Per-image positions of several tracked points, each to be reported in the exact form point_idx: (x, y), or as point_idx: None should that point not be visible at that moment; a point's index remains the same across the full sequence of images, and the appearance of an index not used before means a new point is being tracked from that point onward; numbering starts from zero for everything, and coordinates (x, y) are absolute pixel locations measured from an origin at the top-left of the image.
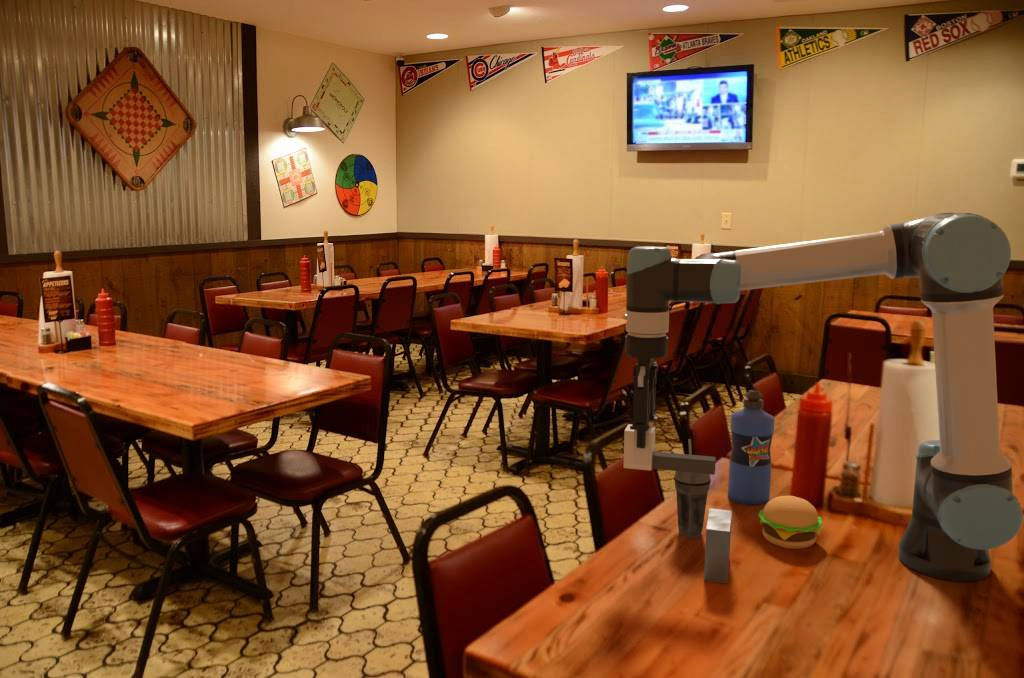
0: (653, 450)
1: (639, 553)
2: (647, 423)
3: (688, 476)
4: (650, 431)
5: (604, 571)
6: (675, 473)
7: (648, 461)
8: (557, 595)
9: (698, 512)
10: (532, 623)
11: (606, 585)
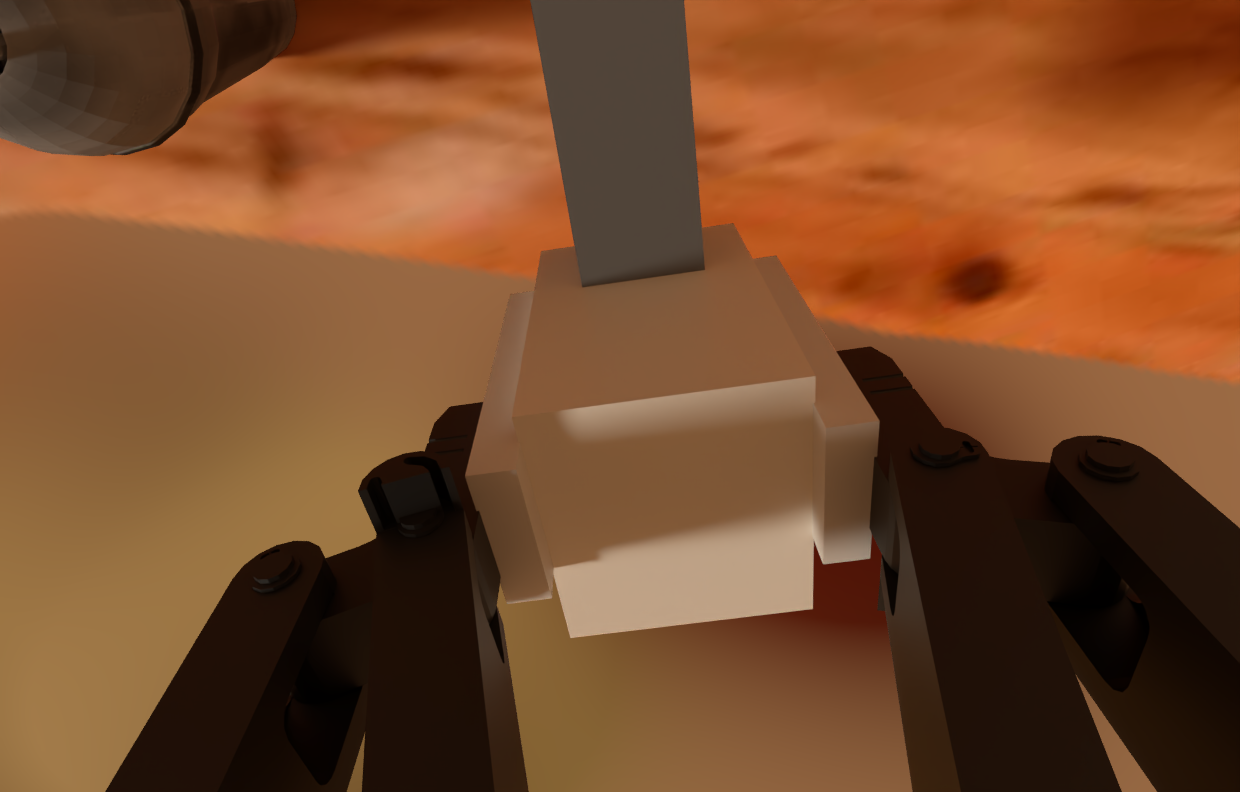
0: (634, 290)
1: None
2: (1100, 491)
3: (151, 30)
4: (760, 409)
5: (761, 236)
6: (130, 146)
7: (780, 268)
8: (969, 312)
9: None
10: (1150, 312)
11: (865, 195)
